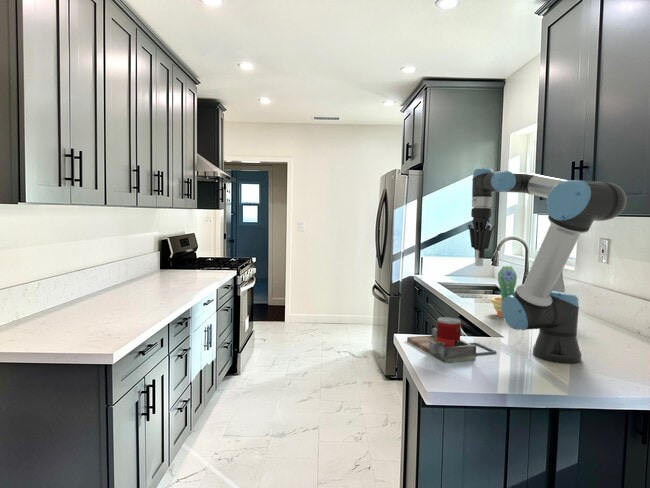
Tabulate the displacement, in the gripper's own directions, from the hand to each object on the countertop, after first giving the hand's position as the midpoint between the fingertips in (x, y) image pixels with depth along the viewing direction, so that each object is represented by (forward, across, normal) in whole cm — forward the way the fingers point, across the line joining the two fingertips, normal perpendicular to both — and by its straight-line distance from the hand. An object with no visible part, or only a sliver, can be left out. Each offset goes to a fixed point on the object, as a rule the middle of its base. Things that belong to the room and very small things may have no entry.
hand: (478, 265), depth 176 cm
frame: (+29, +15, -13) cm, 35 cm away
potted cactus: (+29, -27, +41) cm, 57 cm away
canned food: (+28, +17, -26) cm, 42 cm away
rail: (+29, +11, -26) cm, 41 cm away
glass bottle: (+29, -13, +54) cm, 63 cm away
